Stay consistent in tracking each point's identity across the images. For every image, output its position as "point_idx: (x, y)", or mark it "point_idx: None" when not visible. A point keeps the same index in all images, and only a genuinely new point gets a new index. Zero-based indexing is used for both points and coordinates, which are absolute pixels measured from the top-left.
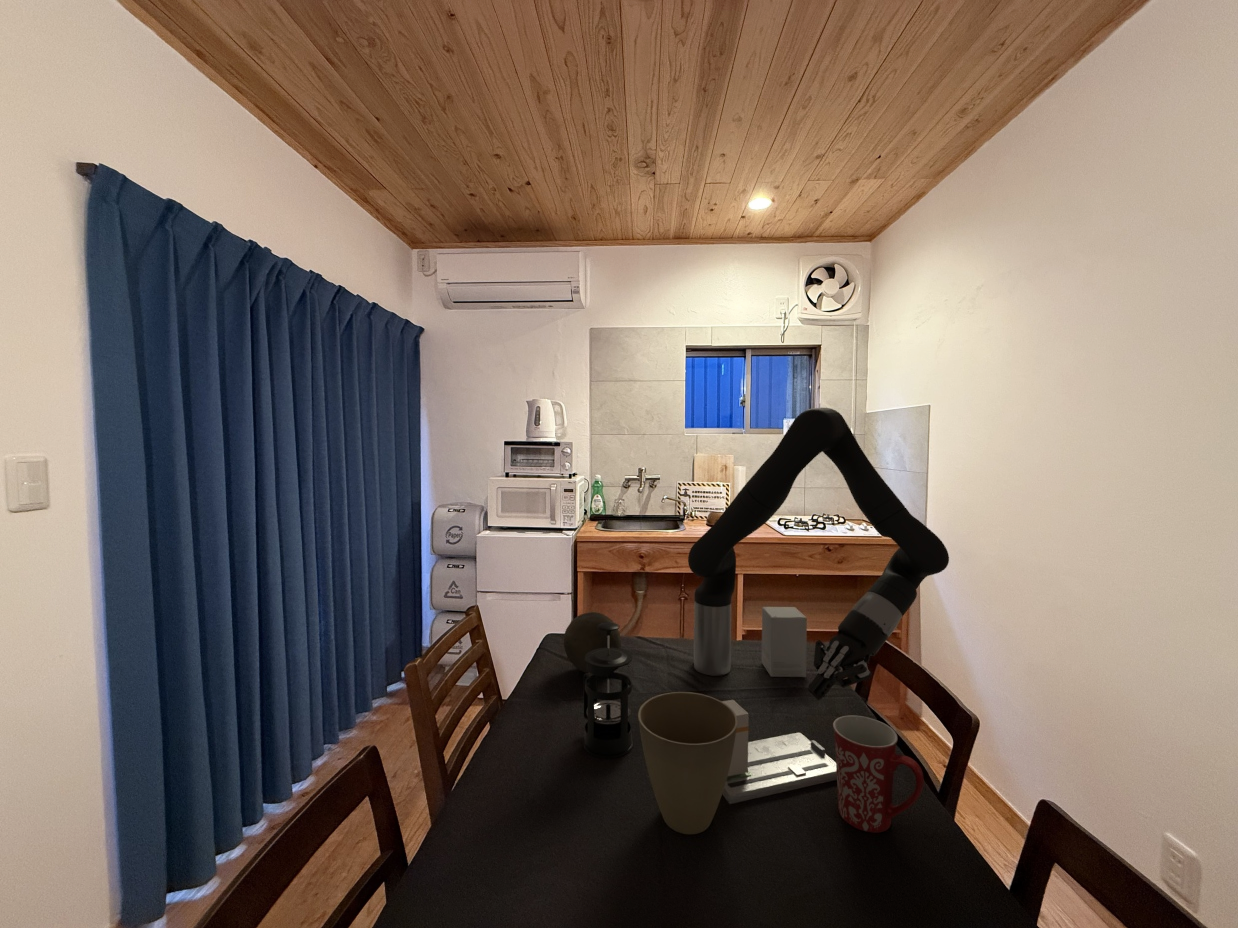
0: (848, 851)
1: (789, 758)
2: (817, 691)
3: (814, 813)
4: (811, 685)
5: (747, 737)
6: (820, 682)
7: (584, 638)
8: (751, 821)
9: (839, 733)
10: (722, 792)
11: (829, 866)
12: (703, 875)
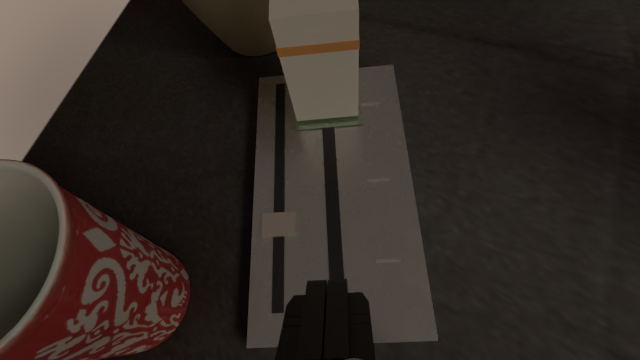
0: (102, 209)
1: (326, 235)
2: (298, 302)
3: (190, 207)
4: (341, 296)
5: (283, 69)
6: (301, 328)
7: None
8: (217, 104)
9: (2, 163)
10: (197, 16)
11: (98, 165)
12: (166, 24)
